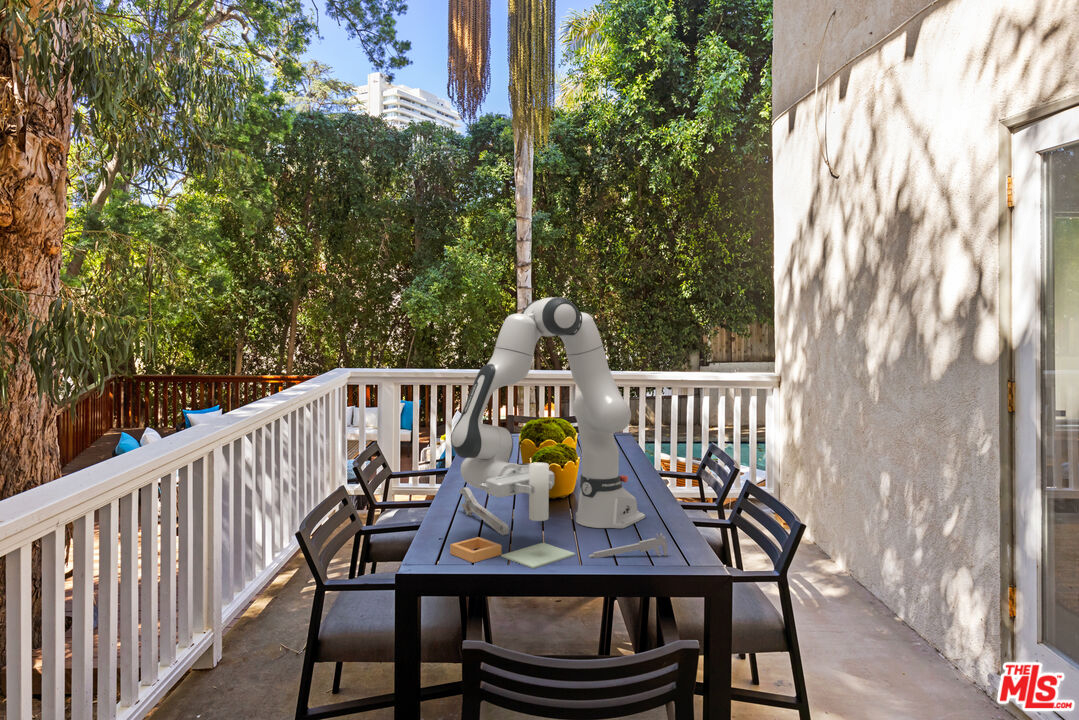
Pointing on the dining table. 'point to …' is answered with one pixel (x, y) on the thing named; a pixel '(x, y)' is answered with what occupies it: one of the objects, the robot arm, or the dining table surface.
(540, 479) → the tall white pillar
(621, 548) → the caliper
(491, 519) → the wrench
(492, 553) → the orange square frame
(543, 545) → the mat
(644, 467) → the dining table surface
